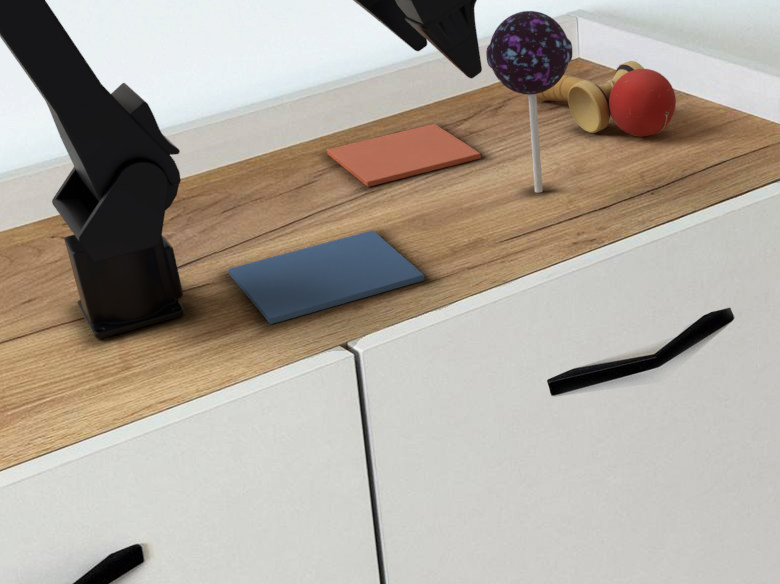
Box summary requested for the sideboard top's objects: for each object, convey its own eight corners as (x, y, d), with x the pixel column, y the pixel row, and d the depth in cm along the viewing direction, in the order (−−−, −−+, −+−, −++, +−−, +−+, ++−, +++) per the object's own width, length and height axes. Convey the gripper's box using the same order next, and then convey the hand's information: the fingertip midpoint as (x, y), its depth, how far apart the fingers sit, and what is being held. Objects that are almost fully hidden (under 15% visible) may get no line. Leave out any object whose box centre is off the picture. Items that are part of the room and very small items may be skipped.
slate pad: (270, 324, 93) (269, 318, 93) (229, 274, 101) (227, 268, 101) (424, 280, 98) (424, 274, 97) (373, 235, 105) (373, 229, 105)
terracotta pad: (367, 187, 114) (366, 181, 114) (327, 154, 122) (326, 149, 122) (481, 158, 118) (480, 153, 118) (435, 128, 126) (434, 123, 126)
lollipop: (510, 213, 107) (495, 29, 100) (489, 184, 113) (473, 8, 105) (590, 198, 109) (581, 16, 101) (565, 170, 114) (555, -4, 107)
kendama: (509, 124, 129) (629, 143, 116) (508, 58, 128) (630, 69, 114) (571, 118, 134) (694, 135, 120) (571, 54, 132) (696, 64, 118)
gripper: (508, -179, 85) (594, 27, 95) (389, -199, 100) (474, -19, 109) (370, -86, 83) (472, 115, 93) (269, -120, 98) (367, 56, 107)
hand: (447, 61), depth 101 cm, fingers open, 9 cm apart
